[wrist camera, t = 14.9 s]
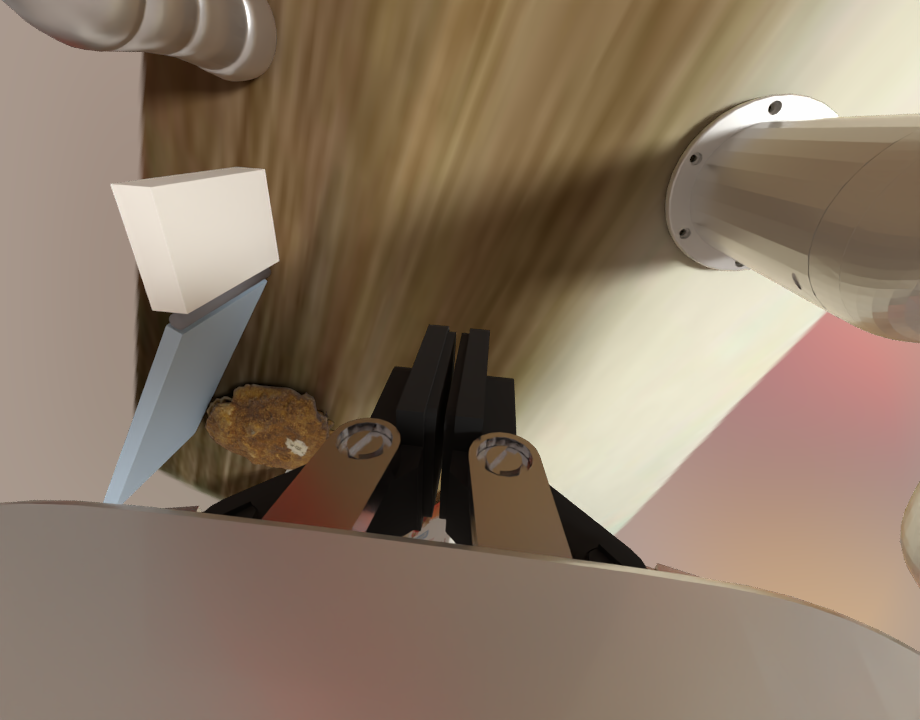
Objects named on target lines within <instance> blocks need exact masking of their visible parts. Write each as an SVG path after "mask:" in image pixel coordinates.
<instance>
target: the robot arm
mask: <svg viewBox="0 0 920 720" xmlns="http://www.w3.org/2000/svg"><path fill="white" fill-rule="evenodd" d="M769 105H771V110H770V111H769V112H768V108H769ZM692 155H694V156H695V158H694V160H693V161H692V162H690V158H691V156H692ZM665 212H666V222H667V225H668V229H669V232H670V235H671V237H672V238H673V240H674V242H675V244H676V245H677V246H678V247H679V249H680V250H681V251H682V252H683V253H684V254H685V255H687V256H688V257H689V258H691V259H692V260H693V261H695V262H697V263H699V264H701V265H703V266H705V267H708V268H712V269H716V270H721V271H741V270H750V269H752V270H754V271H756V272H757V273H759V274H761V275H763V276H765V277H766V278H768V279H770V280H772V281H774V282H775V283H777V284H779V285H781V286H782V287H784V288H786V289H788V290H790V291H791V292H793V293H795V294H797V295H799V296H800V297H802V298H804V299H806V300H808V301H809V302H811V303H813V304H815V305H816V306H818V307H820V308H822V309H824V310H825V311H827V312H829V313H831V314H833V315H834V316H836V317H838V318H841V319H843V320H844V321H846V322H848V323H850V324H852V325H853V326H855V327H857V328H860V329H862V330H864V331H867V332H869V333H871V334H874V335H877V336H881V337H884V338H888V339H892V340H898V341H905V342H913V343H920V114H900V115H876V116H852V117H839V116H838V114H837V113H836V112H835V111H834V110H833V109H831V108H830V107H829V106H827V105H826V104H825V103H824V102H821V101H819V100H816V99H814V98H812V97H809V96H804V95H797V94H779V95H770V96H765V97H760V98H756V99H753V100H750V101H747V102H745V103H742V104H739V105H737V106H735V107H734V108H732V109H730V110H728V111H727V112H725V113H723V114H721V115H720V116H719V117H717V118H716V119H715V120H714V121H712V122H711V123H710V124H709V125H707V126H706V127H705V128H704V129H703V130H702V131H701V132H700V133H699V134H698V135H697V136H696V137H695V138H694V139H693V140H692V141H691V143H690V144H689V146H688V147H687V149H686V150H685V151H684V153H683V154H682V156H681V157H680V159H679V161H678V163H677V165H676V167H675V169H674V171H673V173H672V176H671V179H670V182H669V185H668V189H667V194H666V202H665ZM682 229H684V232H683V233H682V234H679V233H680V231H681V230H682ZM735 261H736V262H735ZM489 336H490V330H481V329H470V333H469V334H468V333H462V336H461V341H460V345H459V350H458V355H457V360H456V364H455V369H454V362H455V346H456V332H449V326H440V325H430V324H429V326H428V329H427V331H426V334H425V336H424V339H423V342H422V344H421V347H420V349H419V352H418V354H417V357H416V360H415V362H414V365H413V367H412V368H406V367H394V369H393V370H392V373H391V375H390V377H389V379H388V381H387V383H386V385H385V388H384V390H383V392H382V394H381V396H380V398H379V400H378V403H377V405H376V407H375V409H374V411H373V413H372V415H371V418H362V419H356V420H352V421H349V422H347V423H345V424H343V425H341V426H339V427H338V428H337V429H336V430H335V431H334V432H333V433H332V434H331V435H330V436H329V437H328V439H327V440H326V441H325V442H324V443H323V445H322V446H321V447H320V448H319V450H318V451H317V452H316V453H315V454H314V456H313V457H312V458H311V459H310V461H309V462H308V463H307V464H305V465H303V466H300V467H298V468H296V469H293V470H291V471H289V472H286V473H284V474H282V475H279V476H277V477H275V478H272V479H270V480H267V481H265V482H263V483H260V484H258V485H256V486H253V487H251V488H249V489H246V490H244V491H242V492H239V493H237V494H235V495H232V496H230V497H228V498H225V499H223V500H221V501H219V502H218V503H216V504H214V505H212V506H211V507H209V508H208V509H207V510H206V511H204V512H201V510H200V507H199V506H190V507H176V508H155V507H145V506H135V505H124V504H112V503H99V502H86V501H61V500H58V501H57V500H30V501H18V502H4V503H0V720H920V652H919V651H917V650H915V649H913V648H912V647H910V646H908V645H906V644H905V643H903V642H901V641H899V640H897V639H895V638H893V637H891V636H889V635H887V634H886V633H884V632H882V631H880V630H878V629H875V628H873V627H871V626H868V625H866V624H864V623H862V622H859V621H857V620H855V619H852V618H850V617H848V616H845V615H843V614H840V613H838V612H836V611H834V610H831V609H828V608H825V607H822V606H819V605H816V604H813V603H810V602H807V601H804V600H801V599H798V598H794V597H792V596H788V595H784V594H780V593H776V592H772V591H768V590H764V589H760V588H756V587H752V586H748V585H742V584H736V583H730V582H724V581H718V580H713V579H708V578H702V577H699V576H696V575H693V574H690V573H686V572H683V571H681V570H678V569H674V568H671V567H668V566H665V565H662V564H659V563H657V565H656V567H655V569H654V568H651V567H648V566H645V565H644V563H643V562H642V560H641V559H640V558H639V557H638V556H637V555H636V554H635V553H634V552H633V551H632V550H631V549H630V548H629V547H627V546H626V545H625V544H624V543H622V542H621V541H620V540H618V539H617V538H616V537H615V536H613V535H612V534H611V533H610V532H608V531H607V530H606V529H605V528H603V527H602V526H601V525H600V524H598V523H597V522H596V521H594V520H593V519H592V518H591V517H589V516H588V515H587V514H586V513H584V512H583V511H582V510H581V509H579V508H578V507H577V506H576V505H574V504H573V503H572V502H570V501H569V500H568V499H567V498H565V497H564V496H563V495H562V494H560V493H559V492H558V491H557V490H555V489H554V488H553V487H552V486H550V485H549V483H548V480H547V477H546V474H545V470H544V467H543V464H542V461H541V458H540V455H539V453H538V452H537V450H536V448H535V447H534V446H533V445H532V444H531V443H530V442H528V441H527V440H525V439H523V438H521V437H519V436H516V416H515V390H514V379H512V378H502V377H492V376H487V363H488V349H489ZM441 468H442V473H441ZM440 473H441V491H440V509H439V519H446V528H445V532H446V533H447V535H449V536H450V538H451V539H452V540H453V541H454V542H455V543H456V544H454V543H446V542H438V541H431V540H423V539H415V538H407V537H403V536H405V535H406V534H408V533H409V532H411V531H413V530H415V531H421V528H422V524H423V519H424V517H430V518H432V516H433V511H434V506H435V500H436V495H437V489H438V484H439V479H440ZM900 543H901V548H902V553H903V557H904V560H905V563H906V565H907V567H908V569H909V571H910V573H911V575H912V576H913V578H914V580H915V582H916V583H917V585H918V587H919V588H920V482H919V483H918V485H917V487H916V488H915V490H914V492H913V494H912V496H911V498H910V500H909V502H908V505H907V507H906V509H905V511H904V515H903V519H902V522H901V530H900Z"/></svg>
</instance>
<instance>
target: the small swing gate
mask: <svg viewBox="0 0 920 720" xmlns="http://www.w3.org/2000/svg"><path fill="white" fill-rule="evenodd" d="M110 185H111V188H112V190H113V194H114V197H115V200H116V202H117V206H118V208H119V212H120V215H121V218H122V221H123V224H124V226H125V230H126V233H127V236H128V239H129V242H130V244H131V248H132V251H133V254H134V257H135V260H136V263H137V266H138V269H139V272H140V275H141V278H142V281H143V284H144V287H145V290H146V293H147V296H148V299H149V302H150V305H151V308H152V311H162V312H172V313H182V314H188V313H190V312H192V311H194V310H195V309H197V308H199V307H201V306H202V305H204V304H206V303H208V302H209V301H211V300H213V299H214V298H216V297H218V296H220V295H221V294H223V293H225V292H227V291H228V290H230V289H232V288H233V287H235V286H237V285H239V284H240V283H242V282H244V281H246V280H247V279H249V278H251V277H253V276H254V275H256V274H258V273H259V272H261V271H263V270H265V269H266V268H268V267H270V266H272V265H273V264H275V263H277V262H278V261H279V256H278V250H277V244H276V237H275V231H274V225H273V218H272V212H271V206H270V199H269V193H268V187H267V180H266V174H265V169H256V168H244V167H232V168H225V169H217V170H210V171H202V172H195V173H187V174H180V175H173V176H165V177H158V178H150V179H143V180H135V181H128V182H120V183H113V184H110ZM289 471H291V470H286V472H289ZM286 472H285V473H286Z"/></svg>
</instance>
